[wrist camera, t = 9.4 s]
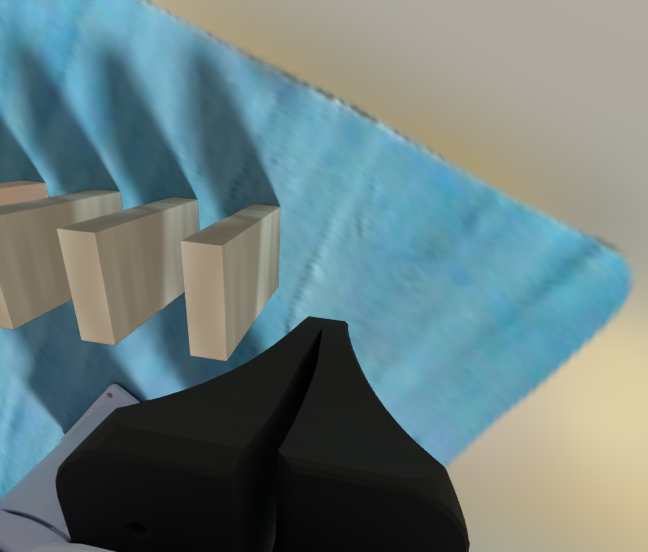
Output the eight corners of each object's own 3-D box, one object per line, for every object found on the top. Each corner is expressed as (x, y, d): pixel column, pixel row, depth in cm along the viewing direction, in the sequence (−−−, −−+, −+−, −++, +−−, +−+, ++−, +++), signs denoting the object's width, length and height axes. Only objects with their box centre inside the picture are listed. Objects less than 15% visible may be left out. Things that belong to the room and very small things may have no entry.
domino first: (253, 283, 22) (190, 355, 15) (253, 203, 20) (180, 241, 13) (278, 286, 22) (226, 360, 14) (280, 206, 20) (222, 245, 12)
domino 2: (109, 265, 23) (-18, 324, 16) (96, 189, 21) (-55, 215, 14) (131, 268, 23) (13, 329, 15) (120, 191, 21) (-20, 219, 14)
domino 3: (179, 274, 22) (81, 339, 15) (172, 197, 21) (56, 228, 13) (202, 277, 22) (114, 345, 15) (197, 199, 20) (94, 233, 13)
